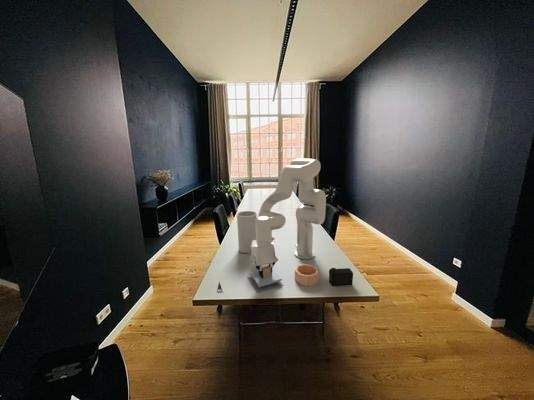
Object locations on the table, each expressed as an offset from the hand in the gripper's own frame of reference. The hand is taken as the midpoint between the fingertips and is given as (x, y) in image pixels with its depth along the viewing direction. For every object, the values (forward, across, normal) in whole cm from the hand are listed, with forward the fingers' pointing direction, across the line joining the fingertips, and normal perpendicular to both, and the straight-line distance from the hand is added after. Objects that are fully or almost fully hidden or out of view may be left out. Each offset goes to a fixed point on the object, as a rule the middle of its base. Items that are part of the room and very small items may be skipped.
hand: (265, 275), depth 110 cm
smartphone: (+4, +19, -8) cm, 21 cm away
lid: (+1, 0, 0) cm, 1 cm away
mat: (+4, +1, 0) cm, 4 cm away
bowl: (+4, -19, +7) cm, 21 cm away
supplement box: (+4, -2, -14) cm, 14 cm away
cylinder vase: (+5, -3, -39) cm, 39 cm away
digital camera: (+5, -33, +16) cm, 37 cm away
